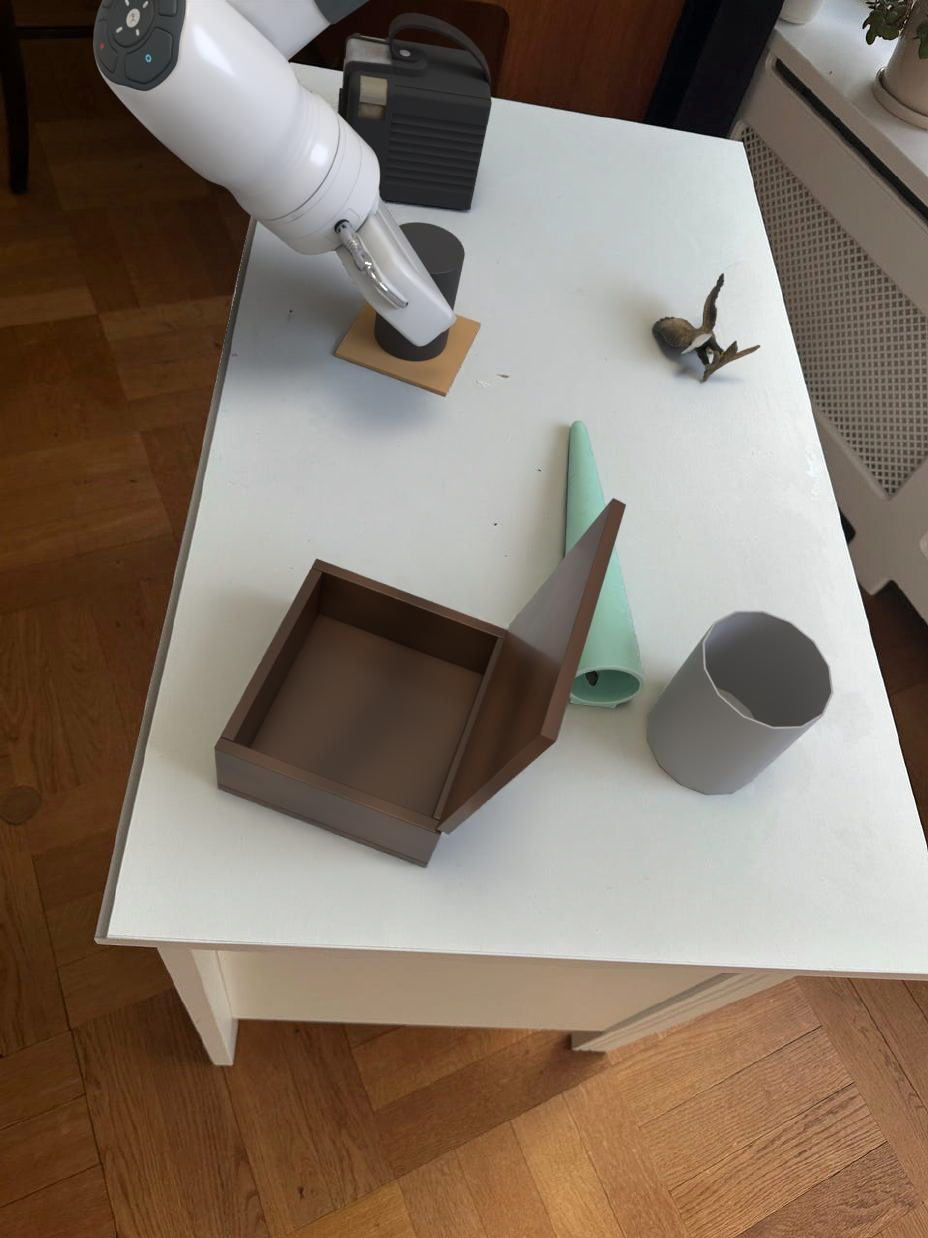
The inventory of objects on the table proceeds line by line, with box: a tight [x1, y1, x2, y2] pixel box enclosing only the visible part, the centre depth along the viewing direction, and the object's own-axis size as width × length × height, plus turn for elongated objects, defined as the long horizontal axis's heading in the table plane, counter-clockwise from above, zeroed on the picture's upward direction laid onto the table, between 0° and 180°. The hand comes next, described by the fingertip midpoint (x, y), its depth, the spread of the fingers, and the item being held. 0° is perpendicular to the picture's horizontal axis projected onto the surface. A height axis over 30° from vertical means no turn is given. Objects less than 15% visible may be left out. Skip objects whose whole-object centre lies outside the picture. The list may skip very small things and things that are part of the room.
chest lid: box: [437, 497, 627, 835], centre depth 50 cm, size 14×15×1 cm
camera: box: [337, 12, 493, 211], centre depth 89 cm, size 11×14×15 cm
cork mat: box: [334, 300, 482, 397], centre depth 82 cm, size 10×10×1 cm
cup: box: [646, 610, 834, 796], centre depth 61 cm, size 8×8×10 cm
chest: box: [213, 558, 508, 869], centre depth 59 cm, size 14×15×6 cm
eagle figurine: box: [653, 272, 761, 383], centre depth 86 cm, size 8×7×9 cm
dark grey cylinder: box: [374, 221, 466, 361], centre depth 78 cm, size 6×6×9 cm
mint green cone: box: [565, 420, 646, 709], centre depth 70 cm, size 5×6×27 cm
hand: (422, 282), depth 77 cm, fingers open, 8 cm apart
